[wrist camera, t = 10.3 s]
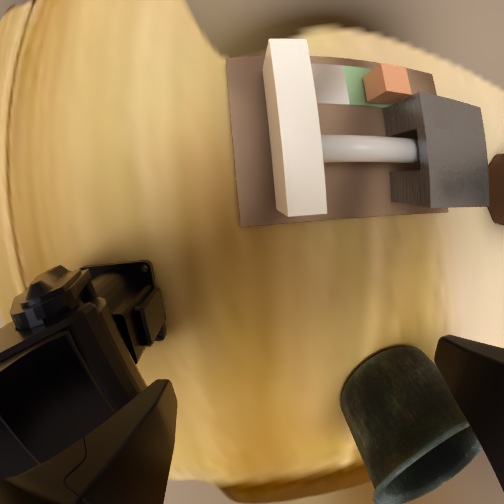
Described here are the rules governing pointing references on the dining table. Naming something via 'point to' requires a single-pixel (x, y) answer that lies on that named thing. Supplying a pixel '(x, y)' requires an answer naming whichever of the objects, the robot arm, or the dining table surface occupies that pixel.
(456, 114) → the notched steel block
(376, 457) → the mug
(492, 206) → the beer bottle
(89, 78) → the dining table surface
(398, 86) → the peach cube
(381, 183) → the base
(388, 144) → the plunger
